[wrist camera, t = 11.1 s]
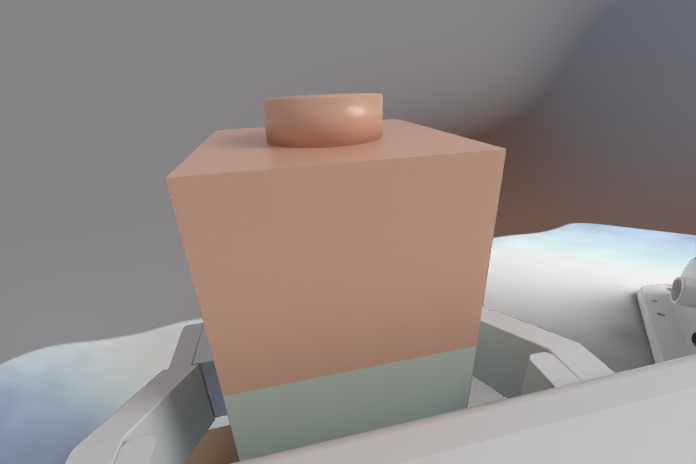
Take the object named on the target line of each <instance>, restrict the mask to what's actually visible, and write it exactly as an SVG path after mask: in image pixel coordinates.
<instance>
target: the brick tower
mask: <svg viewBox="0 0 696 464" xmlns="http://www.w3.org/2000/svg"><path fill="white" fill-rule="evenodd" d="M262 108H263V115H264V123H265V128H249V129H233V130H217V131H216V132H214V133H213V134H212V135H211V136H210V137H209V138H208V139H207V140H206V141H205V142H204V143H203V144H202V145H201V146H200V147H198V148H197V149H196V150H195V151H194V152H193V153H192V154H191V155H190V156H189V157H188V158H187V159H186V160H185V161H183V162H182V163H181V164H180V165H179V166H178V167H177V168H176V169H175V170H174V171H173V172H172V173H171V174H170V175H168V176H167V178H166V181H167V184H168V188H169V192H170V196H171V200H172V203H173V207H174V211H175V215H176V219H177V223H178V227H179V230H180V234H181V238H182V242H183V246H184V250H185V253H186V257H187V261H188V265H189V269H190V273H191V276H192V280H193V284H194V288H195V292H196V295H197V299H198V303H199V307H200V311H201V314H202V318H203V322H204V326H205V330H206V334H207V338H208V341H209V345H210V349H211V353H212V357H213V361H214V364H215V368H216V372H217V376H218V380H219V383H220V387H221V391H222V395H223V399H224V403H225V406H226V410H227V414H228V418H229V422H230V425H231V429H232V433H233V437H234V441H235V445H236V448H237V452H238V456H239V460H240V461H244V460H248V459H252V458H257V457H261V456H265V455H269V454H274V453H278V452H282V451H286V450H291V449H295V448H299V447H303V446H308V445H312V444H316V443H320V442H325V441H329V440H333V439H337V438H342V437H346V436H350V435H354V434H359V433H363V432H367V431H371V430H376V429H380V428H384V427H388V426H393V425H397V424H401V423H405V422H410V421H414V420H418V419H422V418H427V417H431V416H435V415H439V414H444V413H448V412H452V411H457V410H461V409H465V408H467V406H468V399H469V393H470V386H471V379H472V373H473V366H474V360H475V353H476V346H477V340H478V333H479V326H480V320H481V313H482V306H483V300H484V293H485V287H486V280H487V273H488V267H489V260H490V253H491V247H492V240H493V233H494V227H495V220H496V214H497V207H498V200H499V194H500V187H501V180H502V174H503V167H504V161H505V153H506V149H505V148H501V147H497V146H494V145H490V144H486V143H482V142H479V141H475V140H472V139H468V138H464V137H460V136H457V135H454V134H450V133H446V132H443V131H439V130H435V129H431V128H428V127H424V126H421V125H417V124H414V123H410V122H406V121H403V120H399V119H390V120H383V113H382V112H383V95H382V94H377V93H376V94H375V93H354V94H353V93H350V94H320V95H303V96H302V95H300V96H285V97H274V98H266V99H262Z"/></svg>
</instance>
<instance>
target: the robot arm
mask: <svg viewBox="0 0 696 464" xmlns="http://www.w3.org/2000/svg"><path fill="white" fill-rule="evenodd" d="M637 298H638V302H639V306H640V310H641V313H642V317H643V321H644V324H645V328H646V332H647V335H648V339H649V343H650V347H651V350H652V354H653V358H654V361H655V364H652V365H648V366H644V367H640V368H635V369H631V370H627V371H623V372H618V373H615V372H614V371H613V370H611V369H610V368H609V367H608V366H607V365H605V364H604V363H603V362H602V361H601V360H599V359H598V358H597V357H596V356H595V355H593V354H592V353H591V352H590V351H589V350H587V349H586V348H585V347H584V346H583V345H581V344H580V343H578V342H575V341H573V340H570V339H568V338H565V337H562V336H560V335H557V334H555V333H552V332H549V331H547V330H544V329H542V328H539V327H536V326H534V325H531V324H529V323H526V322H523V321H521V320H518V319H516V318H513V317H510V316H508V315H505V314H503V313H500V312H497V311H495V310H493V311H489V310H488V309H487V308H486V307H485V306H484V305H483V306H482V313H481V320H480V326H479V333H478V340H477V346H476V353H475V360H474V366H473V373H472V375H473V376H475V377H476V378H478V379H479V380H481V381H482V382H484V383H485V384H487V385H488V386H490V387H491V388H493V389H494V390H496V391H497V392H499V393H500V394H502V395H503V396H505V397H506V398H508V399H504V400H500V401H495V402H491V403H487V404H482V405H478V406H474V407H469V408H465V409H461V410H457V411H452V412H448V413H444V414H439V415H435V416H431V417H427V418H422V419H418V420H414V421H410V422H405V423H401V424H397V425H393V426H388V427H384V428H380V429H376V430H371V431H367V432H363V433H359V434H354V435H350V436H346V437H342V438H337V439H333V440H329V441H325V442H320V443H316V444H312V445H308V446H303V447H299V448H295V449H291V450H286V451H282V452H278V453H274V454H269V455H265V456H261V457H257V458H252V459H248V460H244V461H240V462H235V463H231V464H696V257H695V258H693V259H692V260H691V261H690V262H689V263H688V264H687V266H686V267H685V269H684V271H683V273H682V275H681V277H677V278H676V279H675V280H674V282H673V284H658V285H650V286H645V287H642V288H641V289H640V291H639V292H638V294H637ZM224 415H228V414H227V410H226V406H225V403H224V399H223V395H222V391H221V387H220V383H219V380H218V376H217V372H216V368H215V364H214V361H213V357H212V353H211V349H210V345H209V341H208V338H207V334H206V330H205V326H204V323H200V324H194V325H188V326H185V327H184V328H183V330H182V333H181V336H180V339H179V341H178V344H177V347H176V350H175V353H174V356H173V359H172V362H171V364H170V367H169V369H168V370H163V371H162V372H161V373H159V374H158V375H157V376H156V377H155V378H154V379H153V380H151V381H150V382H149V383H148V384H147V385H146V386H145V387H143V388H142V389H141V390H140V391H139V392H138V393H137V394H135V395H134V396H133V397H132V398H131V399H130V400H129V401H127V402H126V403H125V404H124V405H123V406H122V407H121V408H119V409H118V410H117V411H116V412H115V413H114V414H112V415H111V416H110V417H109V418H108V419H107V420H106V421H104V422H103V423H102V424H101V425H100V426H99V427H98V428H96V429H95V430H94V431H93V432H92V433H91V434H90V435H88V436H87V437H86V438H85V439H84V440H83V441H82V442H80V443H79V444H78V445H77V446H76V447H75V448H74V449H72V451H71V453H70V455H69V457H68V458H67V460H66V462H65V464H185V463H186V461H187V460H188V458H189V457H190V455H191V454H192V452H193V451H194V450H195V448H196V447H197V445H198V444H199V442H200V441H201V439H202V438H203V436H204V435H205V433H206V432H207V430H208V429H209V427H210V426H211V425H212V423H213V422H214V420H215V419H214V418H216V417H220V416H224Z"/></svg>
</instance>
